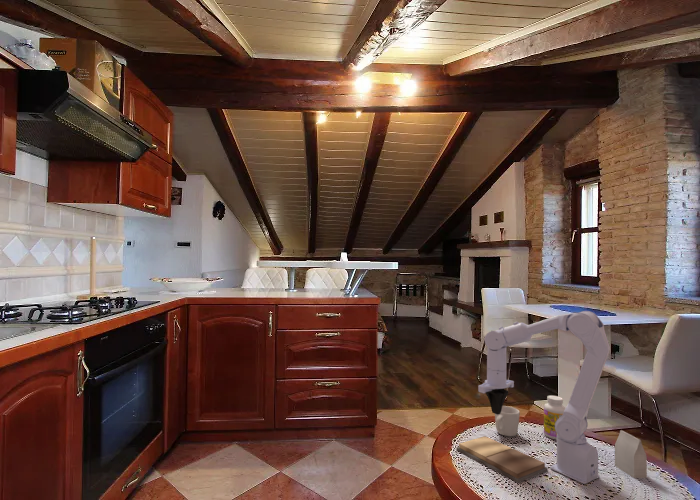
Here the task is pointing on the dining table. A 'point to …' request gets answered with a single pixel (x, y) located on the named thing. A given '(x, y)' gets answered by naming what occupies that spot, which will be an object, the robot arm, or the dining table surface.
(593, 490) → the dining table surface
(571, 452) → the robot arm
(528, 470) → the floor board
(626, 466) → the beige gabled carton
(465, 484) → the dining table surface
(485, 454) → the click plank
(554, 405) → the supplement bottle
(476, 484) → the dining table surface
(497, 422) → the cup
